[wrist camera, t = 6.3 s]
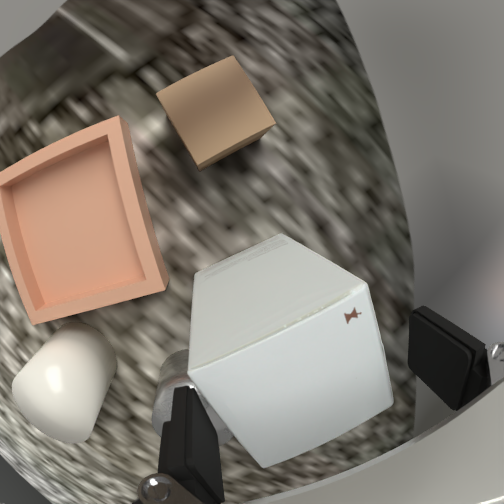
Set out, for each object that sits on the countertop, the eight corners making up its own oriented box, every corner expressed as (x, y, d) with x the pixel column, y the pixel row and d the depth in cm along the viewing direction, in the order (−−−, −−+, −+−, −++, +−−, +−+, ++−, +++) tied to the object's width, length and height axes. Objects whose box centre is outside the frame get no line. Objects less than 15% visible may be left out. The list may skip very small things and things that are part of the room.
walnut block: (260, 138, 20) (275, 123, 16) (199, 171, 20) (197, 164, 15) (226, 83, 19) (233, 55, 14) (166, 115, 19) (156, 93, 14)
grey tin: (237, 394, 24) (246, 441, 18) (175, 408, 24) (172, 455, 18) (217, 340, 23) (223, 384, 17) (149, 357, 22) (137, 402, 16)
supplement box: (191, 272, 21) (178, 369, 9) (283, 230, 22) (374, 277, 10) (232, 350, 23) (260, 473, 11) (314, 312, 24) (399, 405, 11)
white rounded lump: (128, 378, 22) (108, 442, 15) (73, 387, 22) (44, 442, 14) (98, 315, 21) (59, 367, 13) (42, 328, 20) (-3, 375, 13)
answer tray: (169, 279, 21) (165, 290, 19) (45, 313, 20) (32, 325, 18) (127, 123, 18) (118, 115, 16) (6, 179, 17) (-11, 179, 15)
